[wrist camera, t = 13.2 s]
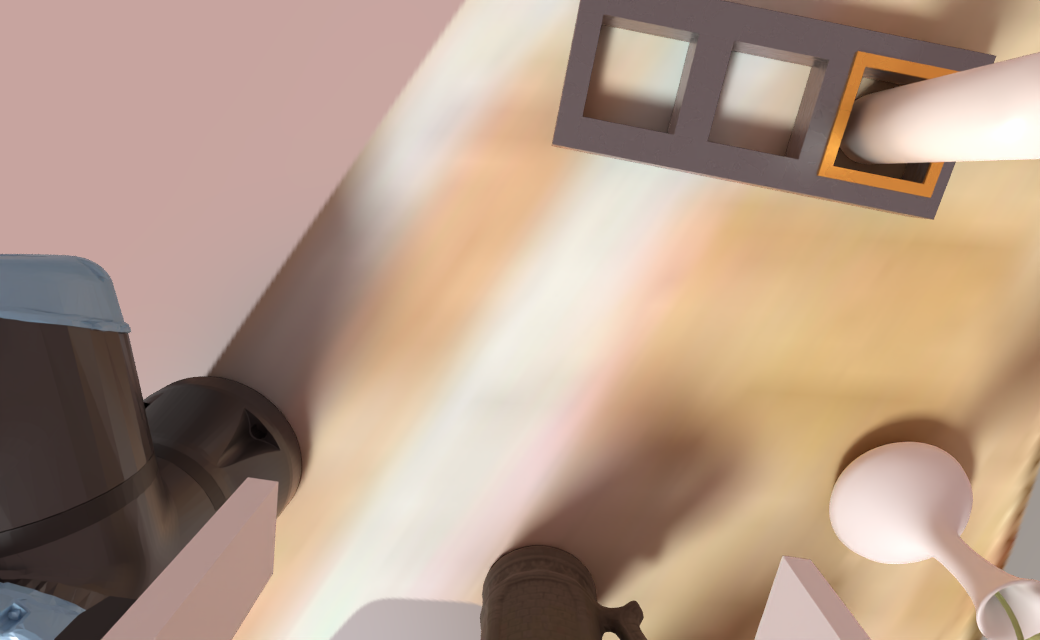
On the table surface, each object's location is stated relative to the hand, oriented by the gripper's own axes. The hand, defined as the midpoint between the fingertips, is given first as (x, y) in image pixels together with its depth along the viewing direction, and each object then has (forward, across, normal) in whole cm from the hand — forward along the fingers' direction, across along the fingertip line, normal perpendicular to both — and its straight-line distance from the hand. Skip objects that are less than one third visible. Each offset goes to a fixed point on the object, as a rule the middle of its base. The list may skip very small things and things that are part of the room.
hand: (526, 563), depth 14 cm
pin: (+31, +23, +17) cm, 42 cm away
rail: (+31, +14, +17) cm, 38 cm away
